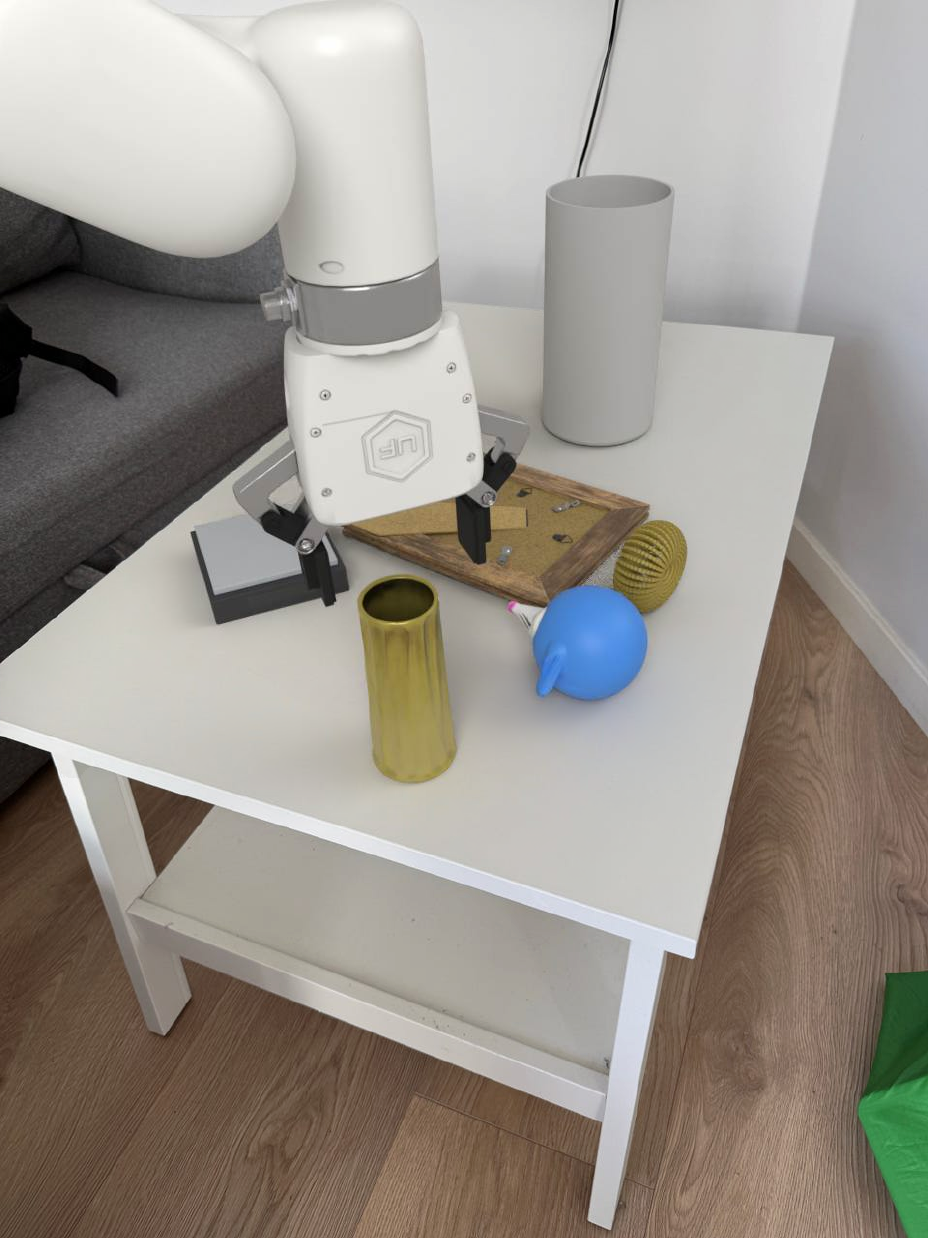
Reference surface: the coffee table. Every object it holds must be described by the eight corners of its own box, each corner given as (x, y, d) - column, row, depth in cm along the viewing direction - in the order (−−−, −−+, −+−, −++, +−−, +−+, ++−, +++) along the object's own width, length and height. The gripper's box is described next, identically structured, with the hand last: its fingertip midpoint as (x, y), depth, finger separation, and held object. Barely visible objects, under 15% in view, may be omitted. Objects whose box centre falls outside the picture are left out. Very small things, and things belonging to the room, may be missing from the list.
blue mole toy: (551, 608, 79) (553, 527, 74) (673, 663, 73) (684, 579, 68) (463, 684, 72) (458, 600, 67) (590, 752, 66) (595, 665, 61)
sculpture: (650, 573, 82) (658, 497, 77) (690, 590, 80) (701, 513, 75) (600, 618, 78) (606, 540, 73) (641, 636, 76) (650, 558, 71)
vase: (435, 711, 70) (421, 559, 61) (470, 765, 66) (462, 609, 57) (360, 739, 68) (335, 586, 59) (392, 796, 64) (371, 640, 55)
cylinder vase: (562, 392, 112) (568, 171, 96) (663, 407, 108) (687, 178, 92) (527, 439, 103) (527, 203, 87) (635, 457, 99) (657, 213, 83)
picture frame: (342, 535, 89) (549, 618, 78) (339, 519, 88) (549, 601, 77) (454, 455, 101) (649, 517, 90) (453, 440, 100) (650, 502, 88)
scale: (216, 625, 79) (208, 597, 77) (195, 553, 88) (188, 525, 86) (349, 590, 82) (345, 562, 80) (316, 523, 91) (312, 497, 89)
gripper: (206, 360, 41) (276, 647, 52) (555, 290, 45) (552, 569, 56) (182, 305, 46) (250, 576, 57) (496, 248, 51) (504, 509, 62)
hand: (400, 572), depth 57 cm, fingers open, 9 cm apart
